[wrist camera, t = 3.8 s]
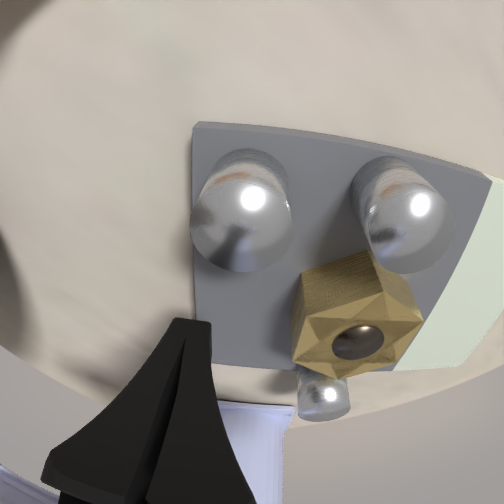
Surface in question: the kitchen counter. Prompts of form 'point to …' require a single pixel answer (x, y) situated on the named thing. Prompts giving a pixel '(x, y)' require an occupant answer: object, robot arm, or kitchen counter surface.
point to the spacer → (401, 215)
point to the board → (349, 249)
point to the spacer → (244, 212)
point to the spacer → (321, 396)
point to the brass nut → (352, 317)
